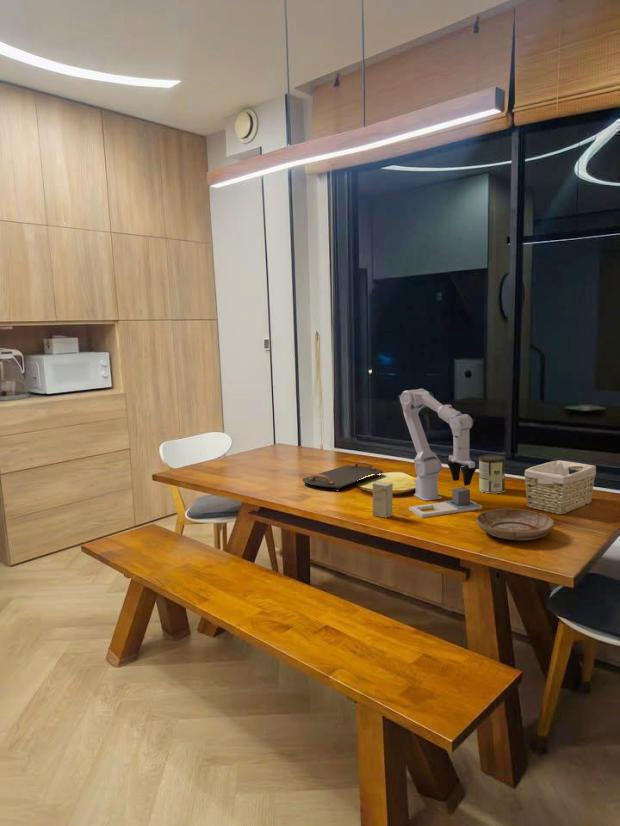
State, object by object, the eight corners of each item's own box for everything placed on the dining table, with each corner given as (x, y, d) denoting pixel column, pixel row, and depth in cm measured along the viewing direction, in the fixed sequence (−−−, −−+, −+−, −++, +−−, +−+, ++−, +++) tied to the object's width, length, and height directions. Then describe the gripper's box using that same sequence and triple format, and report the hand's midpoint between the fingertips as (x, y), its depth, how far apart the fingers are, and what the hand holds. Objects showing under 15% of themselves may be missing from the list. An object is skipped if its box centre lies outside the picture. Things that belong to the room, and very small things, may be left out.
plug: (452, 506, 213) (452, 488, 212) (463, 505, 214) (463, 487, 213) (458, 509, 209) (458, 491, 208) (469, 507, 210) (469, 489, 209)
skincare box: (372, 515, 206) (371, 483, 204) (379, 512, 209) (378, 480, 207) (386, 518, 202) (386, 485, 200) (393, 515, 205) (392, 483, 203)
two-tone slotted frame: (408, 509, 211) (408, 506, 210) (466, 501, 218) (466, 497, 218) (421, 517, 201) (421, 513, 201) (482, 508, 208) (482, 504, 208)
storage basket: (556, 494, 222) (556, 458, 220) (597, 503, 209) (598, 464, 207) (521, 507, 208) (522, 469, 206) (564, 518, 195) (564, 476, 193)
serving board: (350, 469, 280) (349, 457, 279) (388, 475, 264) (388, 462, 263) (296, 486, 252) (295, 473, 251) (336, 494, 236) (335, 480, 235)
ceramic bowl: (493, 517, 198) (493, 504, 198) (563, 530, 183) (563, 515, 182) (464, 537, 181) (464, 522, 180) (538, 553, 166) (539, 537, 165)
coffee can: (490, 486, 238) (490, 453, 236) (510, 491, 230) (510, 457, 228) (473, 490, 233) (473, 457, 231) (493, 495, 224) (493, 461, 222)
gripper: (441, 444, 214) (442, 479, 216) (462, 451, 200) (462, 488, 202) (457, 443, 216) (458, 477, 218) (479, 449, 202) (479, 486, 204)
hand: (461, 482), depth 210 cm, fingers open, 7 cm apart
